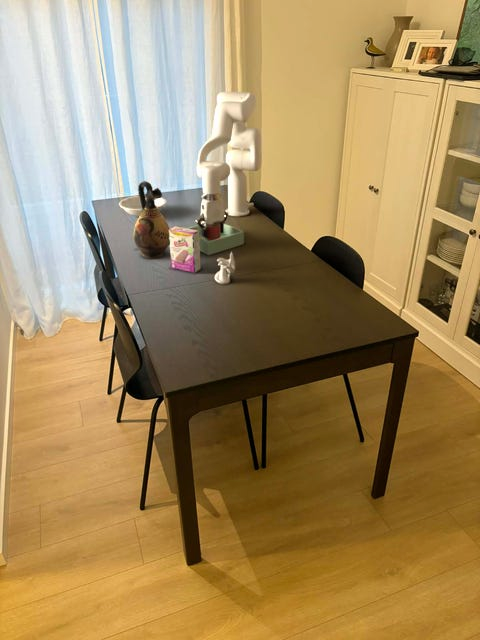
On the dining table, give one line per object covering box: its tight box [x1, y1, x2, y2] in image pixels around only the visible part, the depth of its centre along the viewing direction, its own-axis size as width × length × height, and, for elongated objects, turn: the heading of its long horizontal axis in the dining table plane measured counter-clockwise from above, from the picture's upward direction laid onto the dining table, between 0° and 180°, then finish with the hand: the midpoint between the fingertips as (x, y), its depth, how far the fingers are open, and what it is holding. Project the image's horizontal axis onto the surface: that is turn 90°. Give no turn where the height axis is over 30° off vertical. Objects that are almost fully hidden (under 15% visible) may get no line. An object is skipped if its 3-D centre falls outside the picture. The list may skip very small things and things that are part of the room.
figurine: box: [214, 251, 236, 285], centre depth 182 cm, size 11×8×12 cm
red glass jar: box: [206, 220, 221, 241], centre depth 216 cm, size 7×7×10 cm
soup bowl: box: [118, 195, 168, 218], centre depth 250 cm, size 24×24×7 cm
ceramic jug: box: [132, 180, 170, 259], centre depth 201 cm, size 17×15×30 cm
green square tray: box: [187, 223, 245, 256], centre depth 218 cm, size 20×20×6 cm
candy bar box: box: [169, 225, 202, 274], centre depth 192 cm, size 11×5×16 cm, turn 65°
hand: (212, 234), depth 218 cm, fingers open, 8 cm apart
